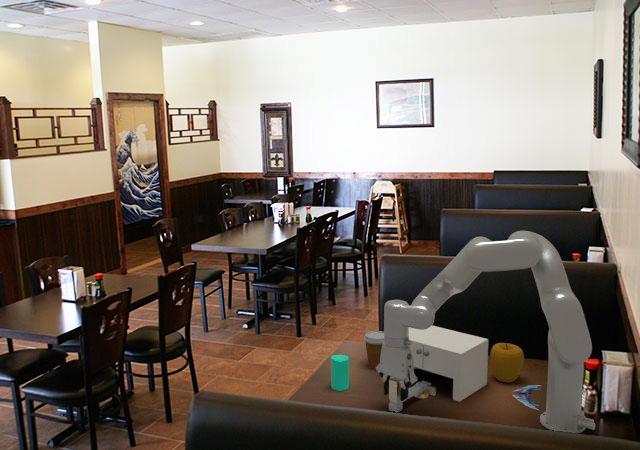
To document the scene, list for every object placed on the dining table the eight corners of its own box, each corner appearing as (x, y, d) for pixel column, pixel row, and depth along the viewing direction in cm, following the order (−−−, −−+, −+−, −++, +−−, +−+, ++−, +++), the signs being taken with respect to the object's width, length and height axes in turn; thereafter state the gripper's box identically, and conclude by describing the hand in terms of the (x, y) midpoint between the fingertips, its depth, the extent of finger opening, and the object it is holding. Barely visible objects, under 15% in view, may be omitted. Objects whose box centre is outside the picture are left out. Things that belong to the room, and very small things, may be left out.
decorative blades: (515, 380, 206) (546, 385, 202) (515, 382, 206) (546, 387, 202) (507, 403, 189) (540, 409, 184) (507, 405, 189) (540, 411, 185)
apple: (524, 376, 210) (525, 341, 208) (520, 388, 201) (522, 351, 199) (492, 371, 215) (493, 336, 213) (487, 382, 205) (488, 346, 203)
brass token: (431, 395, 197) (431, 392, 196) (423, 400, 193) (423, 397, 193) (418, 391, 200) (418, 388, 200) (410, 396, 196) (410, 393, 196)
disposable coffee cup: (361, 369, 218) (361, 337, 216) (367, 359, 227) (367, 329, 225) (387, 372, 215) (387, 340, 213) (391, 362, 224) (392, 331, 222)
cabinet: (486, 384, 204) (488, 339, 202) (458, 402, 191) (459, 354, 188) (417, 363, 223) (418, 322, 221) (387, 378, 210) (387, 334, 207)
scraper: (402, 415, 183) (402, 384, 181) (383, 408, 187) (383, 377, 186) (435, 394, 196) (436, 365, 195) (417, 388, 201) (418, 360, 200)
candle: (328, 388, 202) (327, 354, 200) (335, 382, 207) (335, 349, 205) (344, 392, 199) (343, 357, 197) (351, 385, 205) (351, 351, 203)
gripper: (427, 343, 180) (426, 400, 183) (381, 331, 191) (381, 385, 194) (412, 350, 174) (411, 409, 177) (366, 337, 186) (366, 392, 189)
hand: (395, 395), depth 186 cm, fingers open, 5 cm apart
